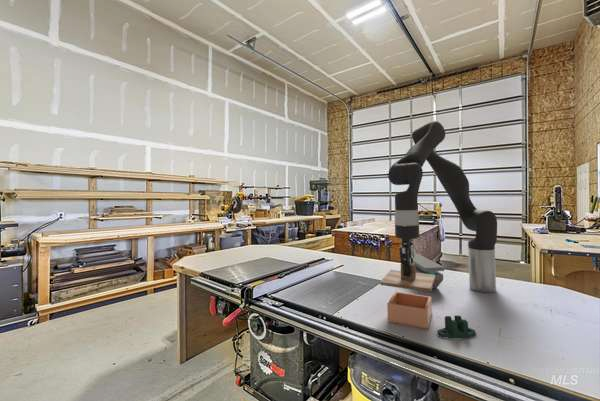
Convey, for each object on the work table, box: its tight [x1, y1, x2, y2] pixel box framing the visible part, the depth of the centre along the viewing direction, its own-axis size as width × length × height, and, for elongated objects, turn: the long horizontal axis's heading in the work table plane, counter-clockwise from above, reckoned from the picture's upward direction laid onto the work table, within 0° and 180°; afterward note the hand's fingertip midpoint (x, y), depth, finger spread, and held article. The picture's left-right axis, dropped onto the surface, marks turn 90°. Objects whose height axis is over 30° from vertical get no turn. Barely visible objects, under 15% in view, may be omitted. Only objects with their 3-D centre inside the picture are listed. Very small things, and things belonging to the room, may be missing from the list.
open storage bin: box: [386, 291, 433, 330], centre depth 90 cm, size 12×12×6 cm
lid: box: [379, 262, 436, 293], centre depth 90 cm, size 15×15×6 cm
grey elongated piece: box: [404, 253, 445, 289], centre depth 122 cm, size 25×8×11 cm, turn 179°
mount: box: [436, 315, 477, 339], centre depth 79 cm, size 11×4×5 cm, turn 91°
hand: (408, 273), depth 90 cm, fingers closed on lid, 4 cm apart
